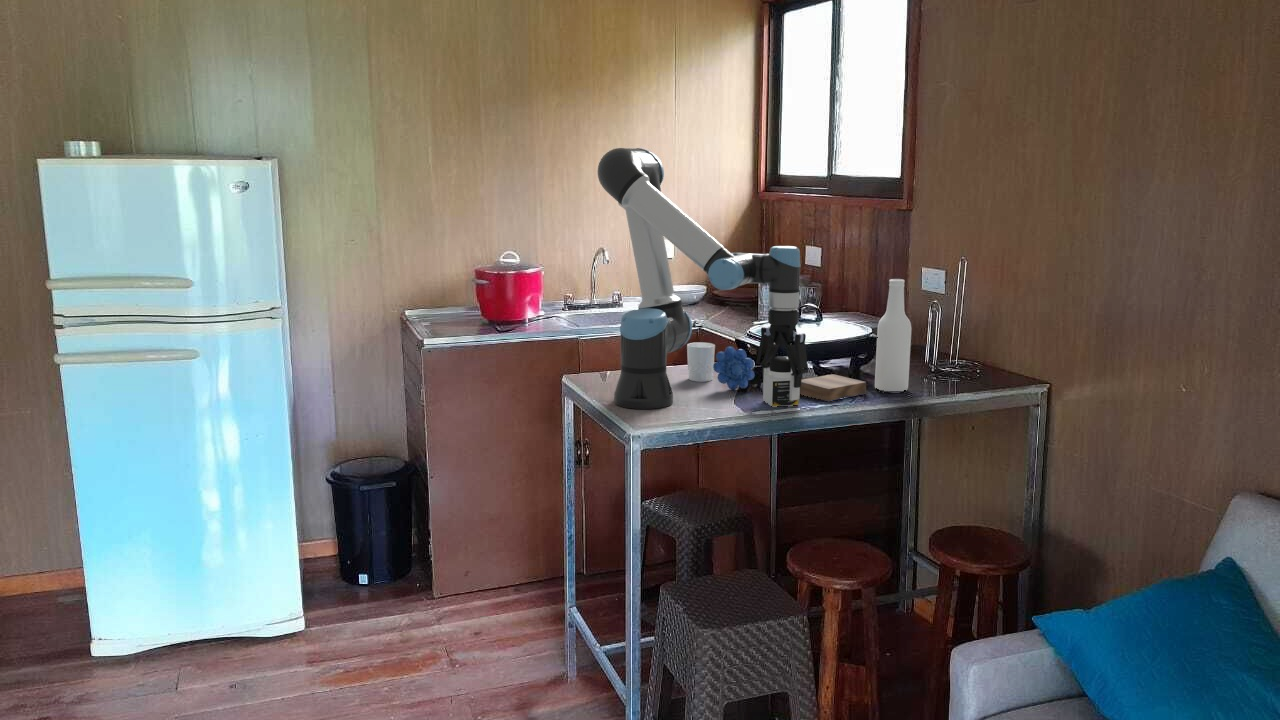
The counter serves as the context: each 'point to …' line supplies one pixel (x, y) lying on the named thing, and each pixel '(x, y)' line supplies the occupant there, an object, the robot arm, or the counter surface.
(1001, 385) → the counter surface
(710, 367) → the white cup
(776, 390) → the medicine bottle
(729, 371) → the blue flower
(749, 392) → the counter surface
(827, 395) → the base block
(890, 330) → the alcohol
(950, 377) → the counter surface
